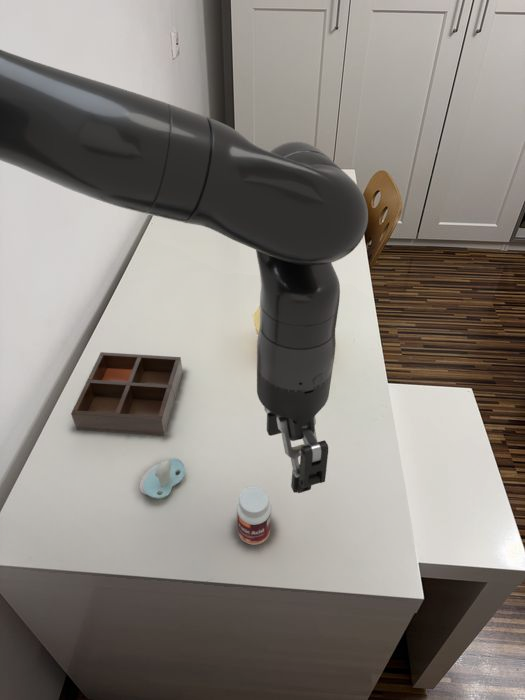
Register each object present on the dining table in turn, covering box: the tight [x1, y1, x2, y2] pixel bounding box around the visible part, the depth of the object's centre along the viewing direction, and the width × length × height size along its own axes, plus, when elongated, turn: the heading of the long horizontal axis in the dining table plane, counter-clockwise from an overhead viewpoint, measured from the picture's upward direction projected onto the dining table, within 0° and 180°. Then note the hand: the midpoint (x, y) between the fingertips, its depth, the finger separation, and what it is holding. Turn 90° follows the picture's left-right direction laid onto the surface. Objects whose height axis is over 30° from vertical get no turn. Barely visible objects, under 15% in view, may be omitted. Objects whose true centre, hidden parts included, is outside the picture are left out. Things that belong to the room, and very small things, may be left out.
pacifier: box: [139, 458, 186, 500], centre depth 76 cm, size 7×6×6 cm
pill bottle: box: [236, 485, 272, 546], centre depth 70 cm, size 5×5×8 cm
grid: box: [70, 351, 184, 436], centre depth 90 cm, size 15×15×4 cm
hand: (287, 459), depth 60 cm, fingers open, 8 cm apart
